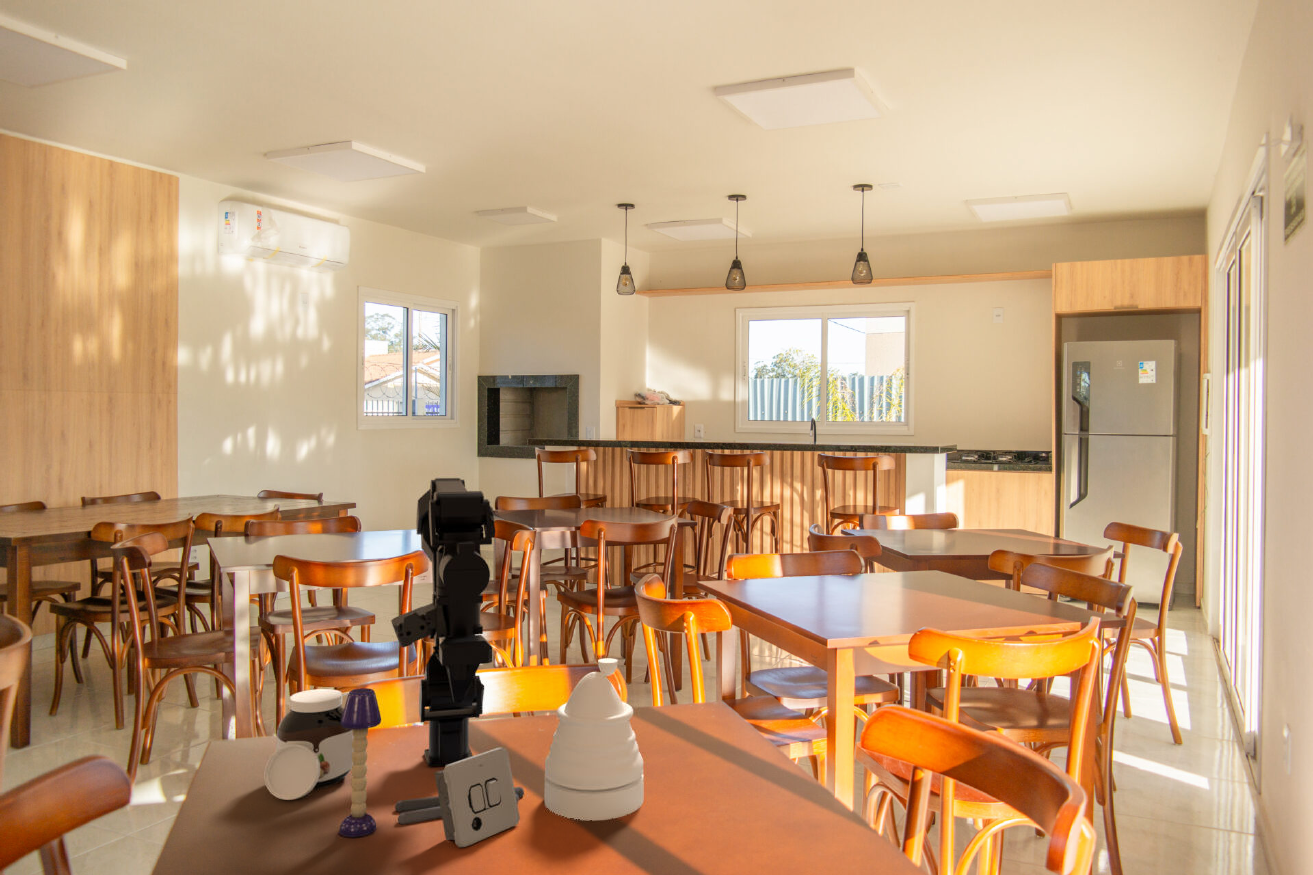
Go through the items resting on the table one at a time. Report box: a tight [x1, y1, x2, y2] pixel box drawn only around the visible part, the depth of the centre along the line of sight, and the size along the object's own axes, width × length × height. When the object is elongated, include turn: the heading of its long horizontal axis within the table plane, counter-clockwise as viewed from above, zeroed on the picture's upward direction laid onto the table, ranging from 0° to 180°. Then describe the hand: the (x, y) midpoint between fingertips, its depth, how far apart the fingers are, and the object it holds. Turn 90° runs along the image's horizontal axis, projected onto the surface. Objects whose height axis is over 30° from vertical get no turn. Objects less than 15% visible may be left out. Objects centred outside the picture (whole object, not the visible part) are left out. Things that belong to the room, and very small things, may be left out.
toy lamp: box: [339, 687, 382, 838], centre depth 113 cm, size 5×5×17 cm
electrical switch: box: [434, 747, 521, 848], centre depth 113 cm, size 9×5×9 cm, turn 141°
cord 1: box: [394, 786, 525, 813], centre depth 121 cm, size 1×16×1 cm, turn 109°
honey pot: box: [544, 657, 645, 822], centre depth 122 cm, size 13×13×18 cm
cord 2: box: [397, 794, 520, 825], centre depth 118 cm, size 1×15×1 cm, turn 117°
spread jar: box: [263, 688, 354, 801], centre depth 127 cm, size 12×11×12 cm
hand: (457, 702), depth 125 cm, fingers closed
